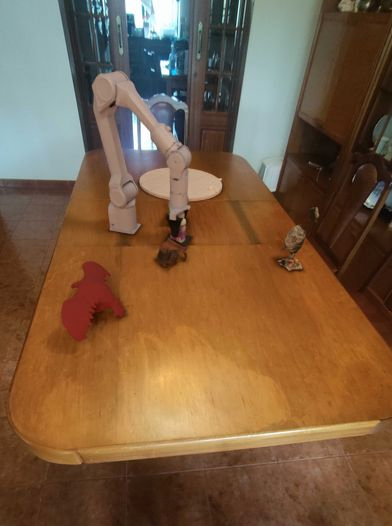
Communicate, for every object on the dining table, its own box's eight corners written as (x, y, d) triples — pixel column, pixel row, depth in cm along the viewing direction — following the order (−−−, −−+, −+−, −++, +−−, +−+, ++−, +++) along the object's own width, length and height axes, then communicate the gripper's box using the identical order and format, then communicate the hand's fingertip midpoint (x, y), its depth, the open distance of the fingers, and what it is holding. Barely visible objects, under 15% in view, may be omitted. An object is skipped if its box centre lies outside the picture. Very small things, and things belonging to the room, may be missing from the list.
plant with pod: (294, 254, 113) (313, 196, 98) (305, 272, 105) (327, 212, 90) (272, 254, 112) (288, 196, 97) (281, 272, 104) (300, 212, 90)
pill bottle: (167, 241, 113) (167, 214, 106) (173, 234, 116) (174, 208, 109) (181, 244, 112) (182, 217, 105) (187, 238, 115) (188, 211, 108)
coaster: (163, 243, 112) (163, 243, 112) (169, 233, 117) (169, 232, 117) (185, 247, 111) (185, 246, 111) (190, 237, 117) (190, 236, 116)
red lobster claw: (119, 294, 98) (78, 260, 89) (140, 279, 93) (99, 242, 85) (96, 364, 78) (42, 329, 70) (121, 349, 74) (66, 310, 65)
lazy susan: (237, 184, 156) (238, 176, 154) (194, 209, 133) (195, 201, 130) (171, 164, 169) (171, 157, 167) (122, 185, 146) (121, 177, 143)
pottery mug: (152, 256, 107) (162, 233, 104) (177, 267, 111) (188, 245, 108) (157, 267, 97) (168, 242, 94) (184, 278, 101) (195, 255, 98)
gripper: (185, 201, 96) (183, 242, 106) (195, 184, 106) (193, 224, 116) (163, 198, 97) (163, 239, 107) (175, 181, 107) (174, 221, 117)
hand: (177, 231), depth 112 cm, fingers open, 7 cm apart
